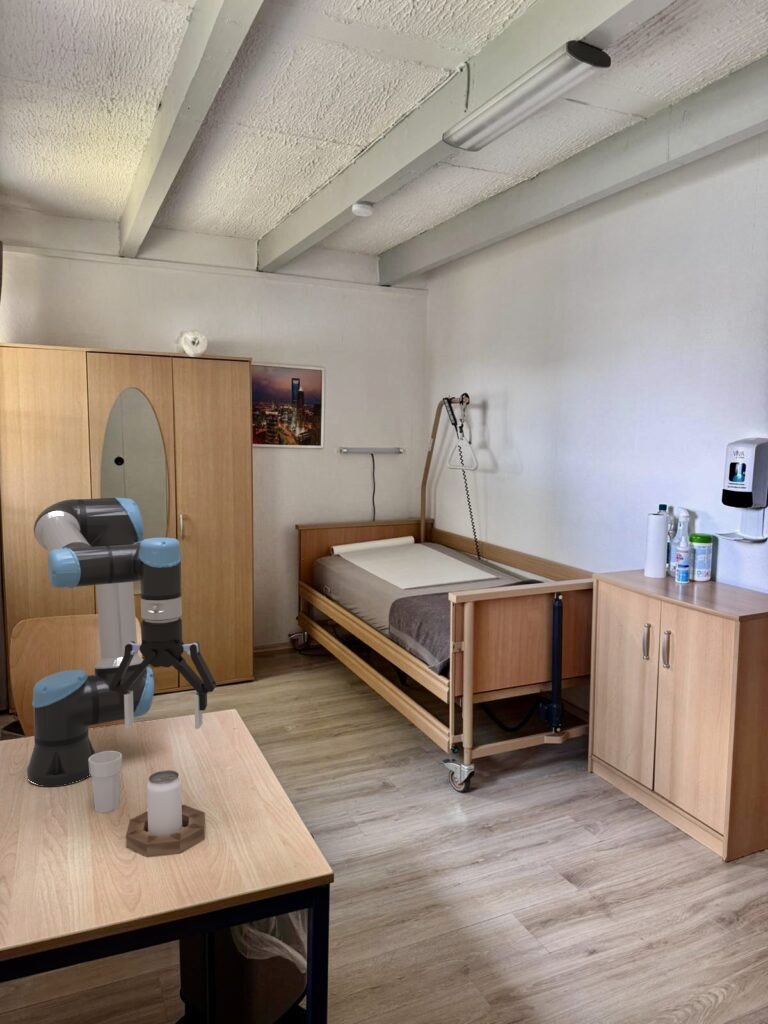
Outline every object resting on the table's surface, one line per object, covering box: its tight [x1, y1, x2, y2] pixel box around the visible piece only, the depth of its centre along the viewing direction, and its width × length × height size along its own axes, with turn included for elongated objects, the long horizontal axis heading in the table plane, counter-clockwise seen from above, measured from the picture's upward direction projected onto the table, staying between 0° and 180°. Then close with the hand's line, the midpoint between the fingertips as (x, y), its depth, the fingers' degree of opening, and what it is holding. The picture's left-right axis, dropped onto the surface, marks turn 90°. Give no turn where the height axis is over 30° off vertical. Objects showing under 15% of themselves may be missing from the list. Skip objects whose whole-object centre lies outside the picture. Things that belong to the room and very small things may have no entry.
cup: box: [88, 750, 123, 814], centre depth 156 cm, size 7×7×11 cm
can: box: [146, 769, 183, 835], centre depth 145 cm, size 6×6×12 cm
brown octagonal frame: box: [125, 804, 206, 858], centre depth 145 cm, size 14×14×2 cm
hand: (164, 725), depth 143 cm, fingers open, 13 cm apart
